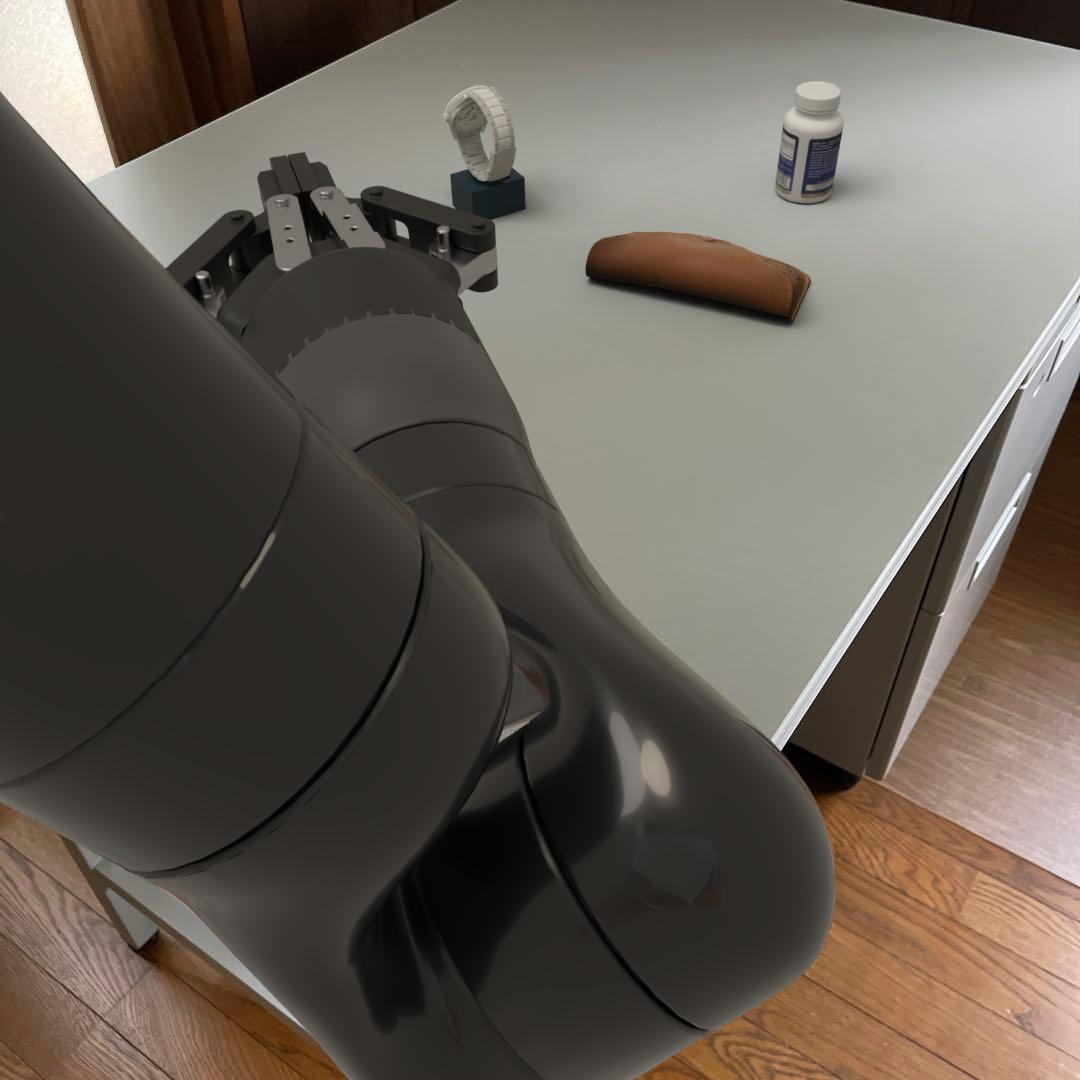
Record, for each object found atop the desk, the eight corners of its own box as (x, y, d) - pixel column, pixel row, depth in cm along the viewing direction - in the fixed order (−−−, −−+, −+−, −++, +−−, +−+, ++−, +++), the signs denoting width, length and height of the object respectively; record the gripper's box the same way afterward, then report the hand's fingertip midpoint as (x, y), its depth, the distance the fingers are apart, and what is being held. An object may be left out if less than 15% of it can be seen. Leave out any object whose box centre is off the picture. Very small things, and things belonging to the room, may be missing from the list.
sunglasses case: (815, 270, 94) (816, 228, 88) (792, 344, 93) (791, 306, 87) (617, 232, 100) (605, 190, 93) (592, 301, 98) (578, 263, 92)
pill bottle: (837, 184, 106) (856, 82, 99) (823, 209, 103) (841, 106, 96) (783, 174, 108) (797, 73, 101) (767, 198, 105) (781, 96, 98)
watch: (493, 181, 108) (487, 68, 100) (535, 216, 103) (532, 99, 95) (442, 196, 106) (432, 82, 98) (482, 232, 101) (474, 115, 93)
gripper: (591, 277, 33) (437, 60, 44) (132, 370, 30) (96, 112, 41) (588, 468, 38) (451, 229, 50) (198, 563, 35) (150, 286, 47)
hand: (289, 176), depth 46 cm, fingers closed
